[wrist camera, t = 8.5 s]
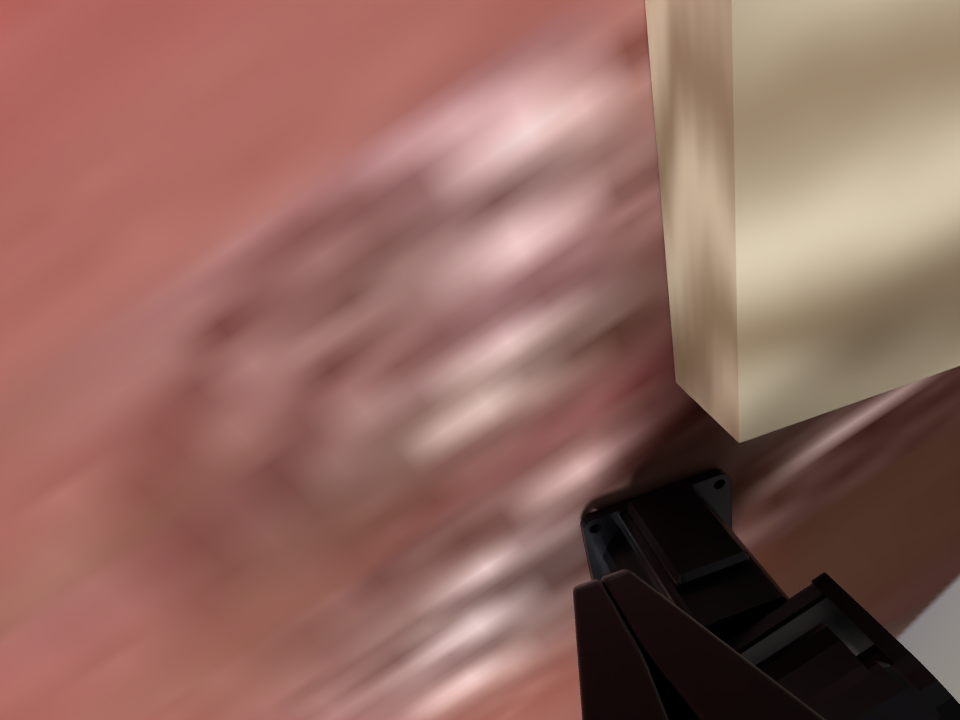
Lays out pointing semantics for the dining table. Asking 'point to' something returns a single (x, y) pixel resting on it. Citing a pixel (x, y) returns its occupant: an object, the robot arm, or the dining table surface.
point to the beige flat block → (807, 200)
